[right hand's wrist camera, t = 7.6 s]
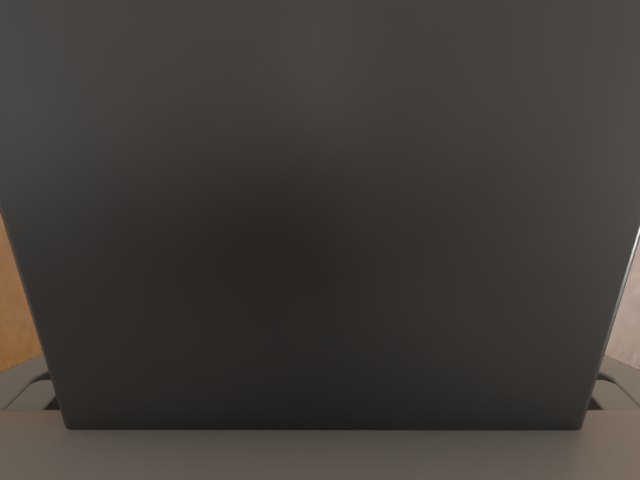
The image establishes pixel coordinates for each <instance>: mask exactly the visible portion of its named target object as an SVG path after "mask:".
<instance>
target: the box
mask: <svg viewBox="0 0 640 480" xmlns="http://www.w3.org/2000/svg"><path fill="white" fill-rule="evenodd" d="M0 212H1V215H2V219H3V222H4V225H5V229H6V232H7V235H8V239H9V242H10V245H11V249H12V252H13V255H14V259H15V262H16V265H17V268H18V272H19V275H20V278H21V282H22V285H23V288H24V292H25V295H26V298H27V302H28V305H29V308H30V312H31V315H32V318H33V321H34V325H35V328H36V331H37V335H38V338H39V341H40V345H41V348H42V351H43V355H44V358H45V361H46V365H47V368H48V371H49V374H50V378H51V381H52V384H53V388H54V391H55V394H56V398H57V401H58V404H59V408H60V411H61V414H62V417H63V421H64V424H65V427H66V429H69V430H580V429H581V428H582V425H583V422H584V418H585V415H586V412H587V409H588V405H589V402H590V399H591V396H592V392H593V389H594V386H595V383H596V379H597V376H598V373H599V370H600V366H601V363H602V360H603V356H604V353H605V350H606V347H607V343H608V340H609V337H610V334H611V330H612V327H613V324H614V321H615V317H616V314H617V311H618V308H619V304H620V301H621V298H622V295H623V291H624V288H625V285H626V282H627V278H628V275H629V272H630V269H631V265H632V262H633V259H634V256H635V252H636V249H637V246H638V242H639V239H640V0H0Z"/></svg>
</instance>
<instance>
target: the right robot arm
mask: <svg viewBox="0 0 640 480" xmlns="http://www.w3.org/2000/svg"><path fill="white" fill-rule="evenodd" d="M0 480H640V370H638V369H636V368H634V367H632V366H629V365H627V364H625V363H622V362H620V361H618V360H616V359H613V358H611V357H609V356H606V355H604V356H603V360H602V363H601V366H600V370H599V373H598V376H597V379H596V383H595V386H594V389H593V392H592V396H591V399H590V402H589V405H588V409H587V412H586V415H585V418H584V422H583V425H582V428H581V429H580V430H69V429H66V427H65V424H64V421H63V417H62V414H61V411H60V408H59V404H58V401H57V398H56V394H55V391H54V388H53V384H52V381H51V378H50V374H49V371H48V368H47V365H46V361H45V358H44V355H43V354H41V355H39V356H36V357H34V358H32V359H29V360H27V361H25V362H23V363H20V364H18V365H16V366H14V367H11V368H9V369H7V370H5V371H2V372H0Z"/></svg>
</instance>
